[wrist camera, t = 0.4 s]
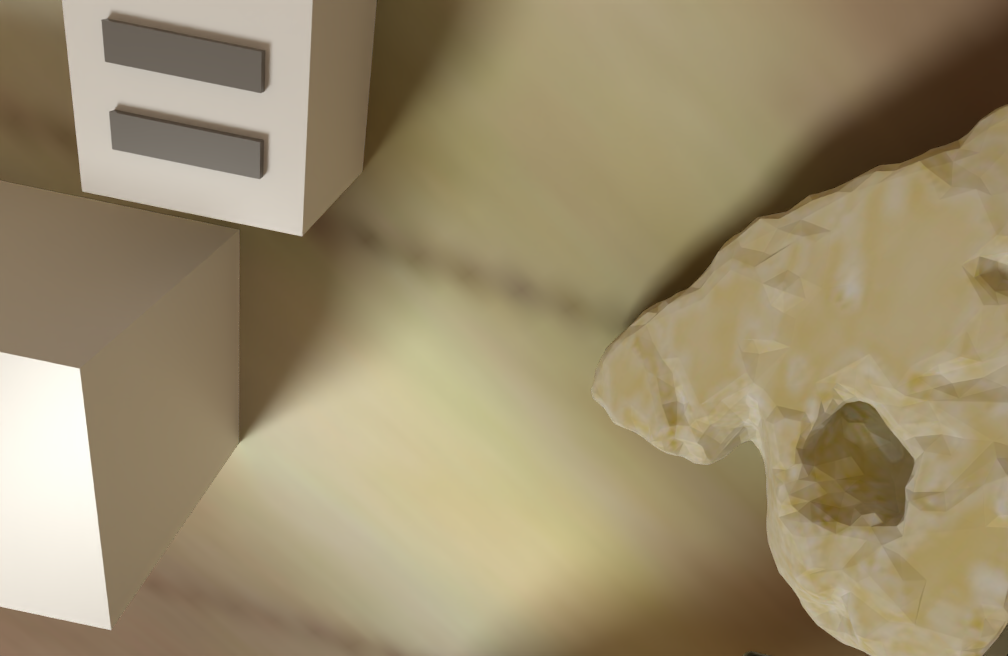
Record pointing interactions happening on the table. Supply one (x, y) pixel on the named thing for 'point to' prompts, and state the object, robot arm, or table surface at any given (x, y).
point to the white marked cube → (222, 104)
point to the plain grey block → (107, 393)
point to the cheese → (856, 392)
